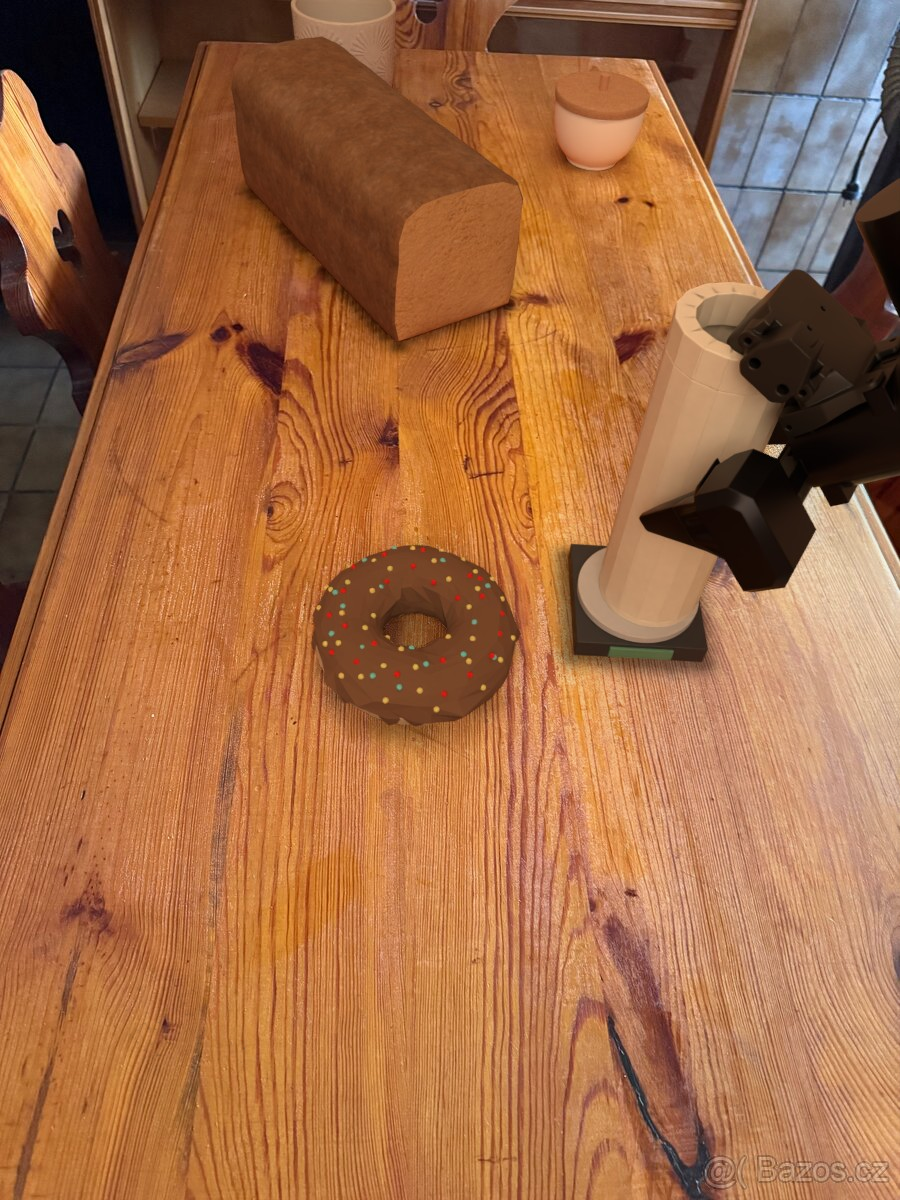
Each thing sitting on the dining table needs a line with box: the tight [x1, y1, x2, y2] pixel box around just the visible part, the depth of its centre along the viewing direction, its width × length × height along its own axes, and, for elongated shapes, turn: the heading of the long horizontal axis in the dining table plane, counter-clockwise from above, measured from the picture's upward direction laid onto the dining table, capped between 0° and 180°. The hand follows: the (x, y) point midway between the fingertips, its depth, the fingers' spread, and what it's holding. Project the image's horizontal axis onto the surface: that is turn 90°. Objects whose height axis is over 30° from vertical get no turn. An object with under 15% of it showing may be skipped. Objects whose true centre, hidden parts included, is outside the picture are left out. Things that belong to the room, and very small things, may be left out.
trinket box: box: [553, 70, 651, 172], centre depth 103 cm, size 11×11×9 cm
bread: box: [230, 37, 524, 342], centre depth 87 cm, size 14×34×14 cm, turn 33°
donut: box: [311, 542, 522, 727], centre depth 59 cm, size 14×14×5 cm
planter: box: [290, 0, 397, 88], centre depth 109 cm, size 12×12×11 cm
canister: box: [599, 281, 786, 627], centre depth 54 cm, size 7×7×22 cm
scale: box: [567, 543, 709, 663], centre depth 64 cm, size 9×9×2 cm
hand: (675, 478), depth 54 cm, fingers open, 9 cm apart
